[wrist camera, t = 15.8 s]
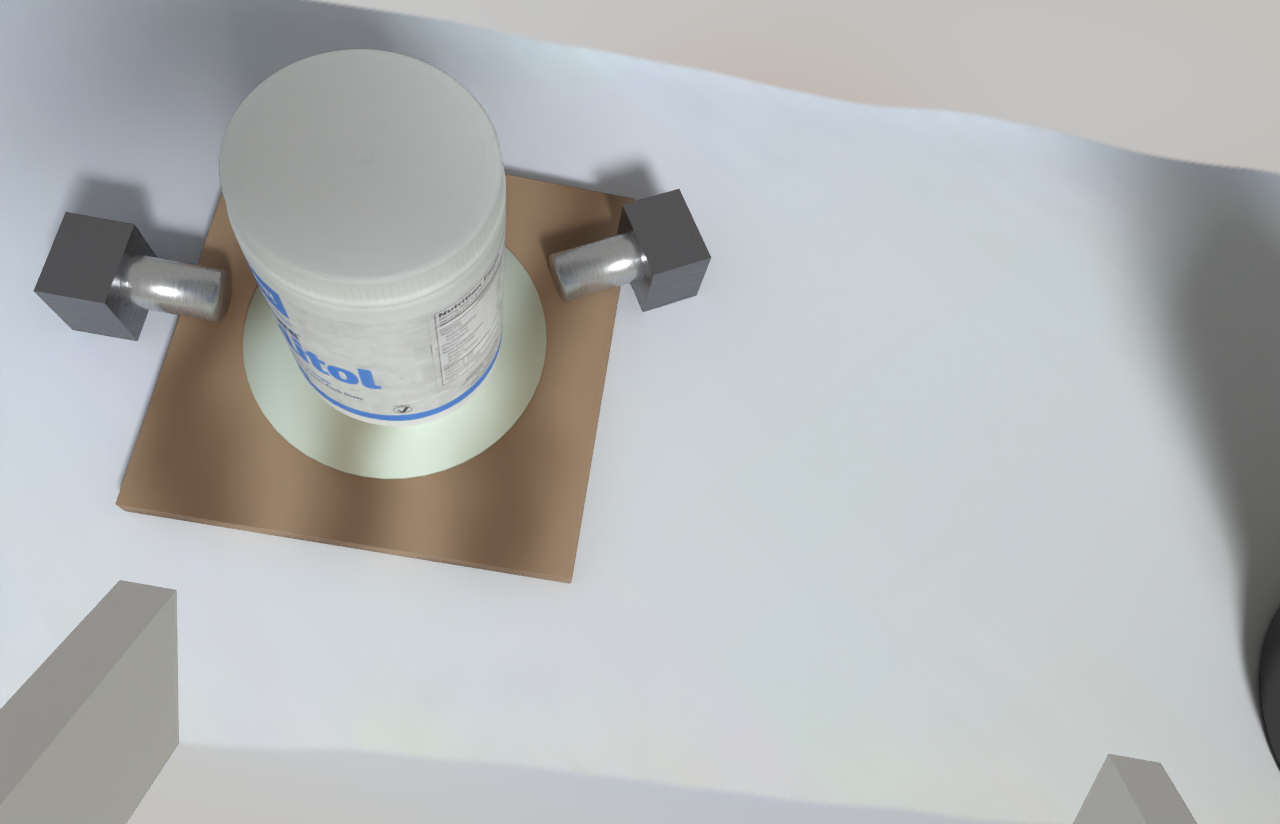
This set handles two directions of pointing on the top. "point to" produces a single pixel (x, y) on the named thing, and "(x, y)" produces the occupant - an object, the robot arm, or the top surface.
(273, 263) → the supplement tub
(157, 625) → the robot arm
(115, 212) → the top surface
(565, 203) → the board
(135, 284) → the shaft
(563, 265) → the shaft
